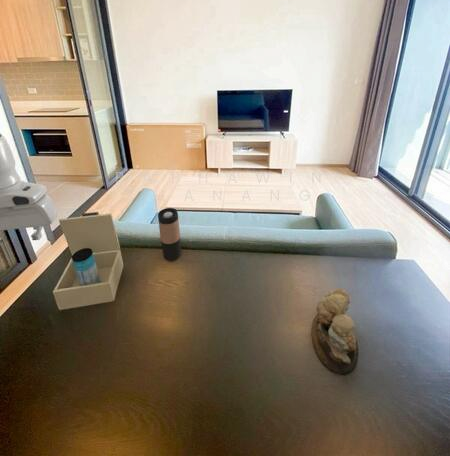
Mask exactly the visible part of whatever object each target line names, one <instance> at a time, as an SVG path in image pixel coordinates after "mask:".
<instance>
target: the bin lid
mask: <svg viewBox="0 0 450 456" xmlns="http://www.w3.org/2000/svg"><path fill="white" fill-rule="evenodd" d="M58 223H59V225H60V228H61V230H62V233H63V237H64V238H65V241H66V243H67V246H68V249H69V252H70V254H71V256H73V254H74V253H75V252H77V251H78V250H81V249H84V248H90V249H92V251H93V253H98V252H106V251H113V250H121V246H120V241H119V238H118V234H117V230H116V226H115V221H114V219H113V215H112V213H102V214H100V212H99V211H92V212H83V213H82V214H81V216H75V217H65V218H59V219H58Z"/></svg>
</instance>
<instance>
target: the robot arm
mask: <svg viewBox="0 0 450 456" xmlns="http://www.w3.org/2000/svg"><path fill="white" fill-rule="evenodd" d="M47 191H48V189H47V186H46V185H44V184H41V183H33V182H29V181H25V180H22V179H21V176H20V175H19V174H18V172H17V170H16V160H15V157H14V154H13V151H12V148H11V146H10V144H9V142H8V140H7V139H6V137H5V136H4V135H3V134H2V132H0V231H8V230H9V231H10V230H19V229H29V228H32V229H33V233H32V234H31V235H30V237H31V240H32V241H40V240H41V239H42V237H43V234H42V229H43V228H44V227H49V226H50V225H52V224H53V223H54V222H55V220H56V218H57V217H58V213H57V210H56V206H55V204H54V202H53V199H52V198H51V197H50V196H49V195H48V194H46V193H47ZM2 241H3V238H2V235H1V234H0V243H2Z"/></svg>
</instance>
